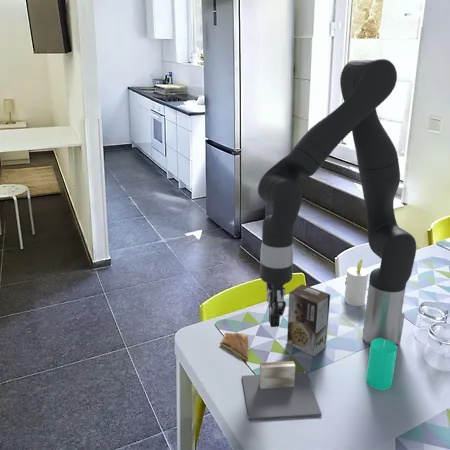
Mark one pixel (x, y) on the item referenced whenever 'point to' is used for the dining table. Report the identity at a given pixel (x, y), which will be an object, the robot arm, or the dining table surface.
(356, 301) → the candle
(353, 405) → the dining table surface
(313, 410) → the mat
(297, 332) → the cookie box
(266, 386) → the slab
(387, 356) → the candle
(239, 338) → the shard
